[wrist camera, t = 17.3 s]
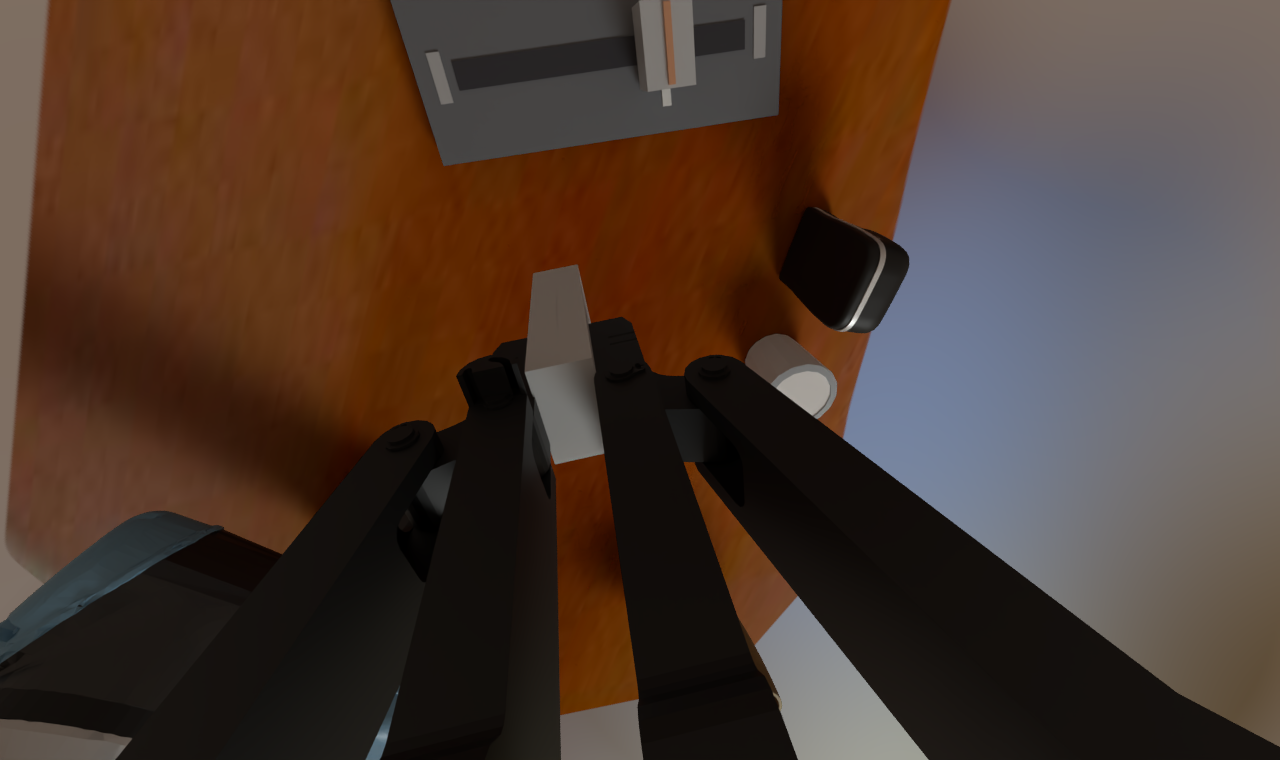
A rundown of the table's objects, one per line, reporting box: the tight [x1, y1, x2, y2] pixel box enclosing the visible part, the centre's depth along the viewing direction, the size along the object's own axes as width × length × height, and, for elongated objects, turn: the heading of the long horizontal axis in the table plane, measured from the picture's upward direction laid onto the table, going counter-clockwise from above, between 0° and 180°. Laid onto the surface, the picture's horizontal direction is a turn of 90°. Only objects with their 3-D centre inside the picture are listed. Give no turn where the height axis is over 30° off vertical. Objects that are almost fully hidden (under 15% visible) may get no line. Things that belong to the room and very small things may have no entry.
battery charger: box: [779, 207, 909, 333], centre depth 38 cm, size 7×4×11 cm, turn 167°
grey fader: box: [632, 0, 696, 92], centre depth 29 cm, size 3×4×4 cm
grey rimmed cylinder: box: [745, 334, 837, 419], centre depth 45 cm, size 7×7×7 cm
